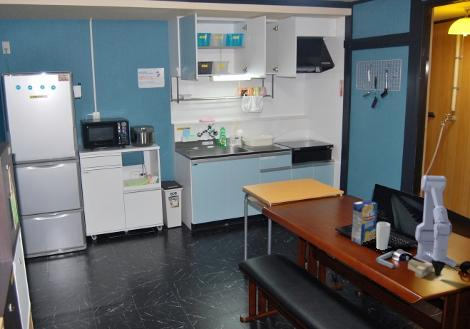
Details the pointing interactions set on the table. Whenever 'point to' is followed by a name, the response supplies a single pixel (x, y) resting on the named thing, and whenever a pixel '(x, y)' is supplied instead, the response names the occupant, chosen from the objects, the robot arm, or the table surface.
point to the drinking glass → (382, 235)
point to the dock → (381, 258)
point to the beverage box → (364, 221)
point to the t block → (420, 268)
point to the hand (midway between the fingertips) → (437, 275)
